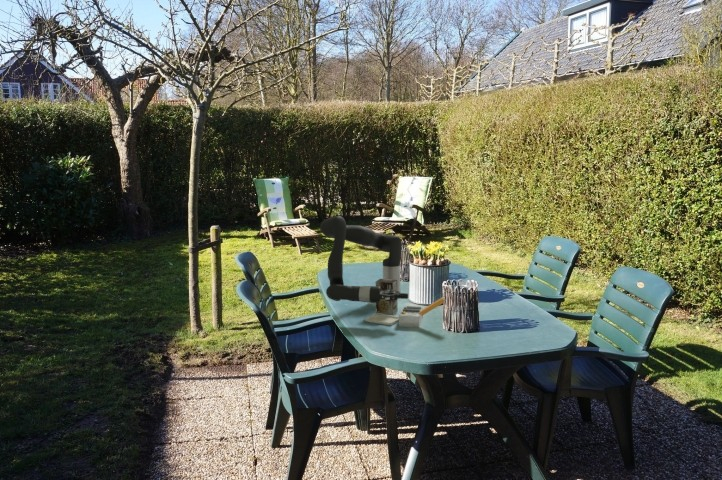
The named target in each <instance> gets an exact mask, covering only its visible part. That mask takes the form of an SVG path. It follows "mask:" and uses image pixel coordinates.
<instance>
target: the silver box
mask: <svg viewBox="0 0 722 480" xmlns="http://www.w3.org/2000/svg"><path fill="white" fill-rule="evenodd" d="M423 309H424V308H423V307H422V306H410V305H409V306H403V308H402V309H401V311H400V313H399V314H398V316H399V322H398V327H405V328H420V326H421V324H422V321H423V318H424V315H423V316H421V314H420V311H421V310H423Z"/></svg>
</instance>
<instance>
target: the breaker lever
mask: <svg viewBox="0 0 722 480" xmlns="http://www.w3.org/2000/svg"><path fill="white" fill-rule="evenodd" d="M444 299H445V298H444V297H443V296H442V297H440V298H439V299H437V300H435V301H434V302H433V303H431V304H429V305H427V306H426V307H424V308H423V310H421V311H420V314H421V316H423V317H424V315H426V314H428V313H429V312H431V311H433V310H434V309H436V308H438V307H439V306H441V305H443V304H444V303H445V302H444Z"/></svg>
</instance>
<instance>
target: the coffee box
mask: <svg viewBox="0 0 722 480" xmlns="http://www.w3.org/2000/svg"><path fill="white" fill-rule="evenodd" d="M375 286H380V287H381V290H382V291H385V290H389V291H390V289H392V290H396V291H397V280H392V279H383V278H379V279H378V280H376V281H375ZM398 310H399V309H398V299H397V300H393V301H385V300H384V299H381V302H380V303H375V314H376V313H381V314H387V315H393V316H395V315H396V314H397V313H398Z"/></svg>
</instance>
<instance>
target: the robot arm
mask: <svg viewBox="0 0 722 480" xmlns="http://www.w3.org/2000/svg"><path fill="white" fill-rule="evenodd" d="M320 232H321V233H322V234H323V235H324V236H325V237H327V238H329V239H333V246H332V248H331V251H330V253H329V256H328V259H327V278H328V280H329V286H328V287H327V288H326V290H325V291H326V292H325V293H326V296H327V298H328V299H330V300H332V301H334V302H335V301H336V302H339V301H341V300H342V301H343V300H344V301H346V300H347V301H350V302H362V303H371V304H376V303H380V302H381V299H384V300H385V301H393V300H397V301H398V300H400V299H403V300H408V298H409V293H407V292H401V285H402V283H401V279H402V278H401V261H402V253H403V252H402V251H403V241H402V238H401V237H400V236H398V235H393V234H383V233H377V232H375V231H374V230H373V229H372V228H369V227H366V226H362V225H358V224H357V225H355V224H354V225H353V224H352V225H350V224H347V222H346V220H345V218H344V217H343V216H341V215H336V216H332V217H328V218H326V219H324V220H322V221H321V223H320ZM346 241H347V242H350V243H354V244H356V245H360V246H364V247H373V248H375V249H378V250H381V251H382V252H385V253H388V257H387V258H384V259H383V260H382V279H392V280H397V291H396V290H392V289H390V291H389V290H385V291H382V290H381V287H380V286H376V285H362V286H361V285H345V283H344V277H343V276H344V275H343V274H344V269H343V268H344V267H343V260H344V258H343V257H344V250H345V244H346V243H345V242H346Z"/></svg>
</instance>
